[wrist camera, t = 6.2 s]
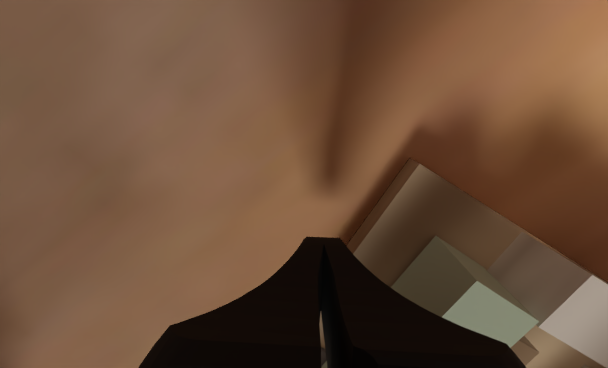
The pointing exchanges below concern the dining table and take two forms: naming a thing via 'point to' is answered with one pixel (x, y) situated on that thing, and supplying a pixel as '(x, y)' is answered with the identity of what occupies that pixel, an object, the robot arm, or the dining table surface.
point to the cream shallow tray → (489, 265)
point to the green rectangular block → (463, 294)
